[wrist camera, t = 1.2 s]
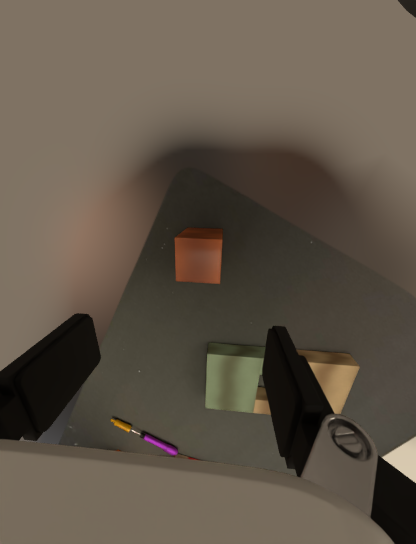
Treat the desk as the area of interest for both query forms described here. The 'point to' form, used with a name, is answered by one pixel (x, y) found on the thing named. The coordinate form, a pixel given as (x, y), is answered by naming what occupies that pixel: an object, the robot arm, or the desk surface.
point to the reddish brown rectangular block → (199, 255)
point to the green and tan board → (248, 366)
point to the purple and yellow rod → (147, 437)
